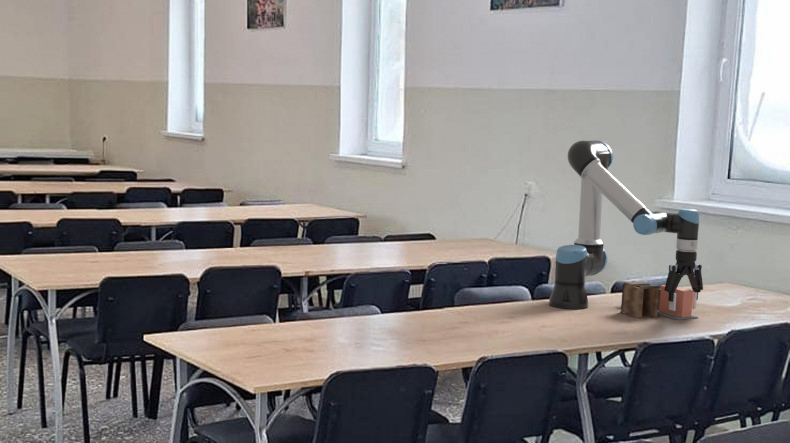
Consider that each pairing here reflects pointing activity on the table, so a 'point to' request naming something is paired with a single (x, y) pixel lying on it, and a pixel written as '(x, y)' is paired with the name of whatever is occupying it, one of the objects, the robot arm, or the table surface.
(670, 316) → the pad
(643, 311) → the brown wooden slotted holder
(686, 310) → the salmon pink brick
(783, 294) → the table surface
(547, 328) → the table surface
